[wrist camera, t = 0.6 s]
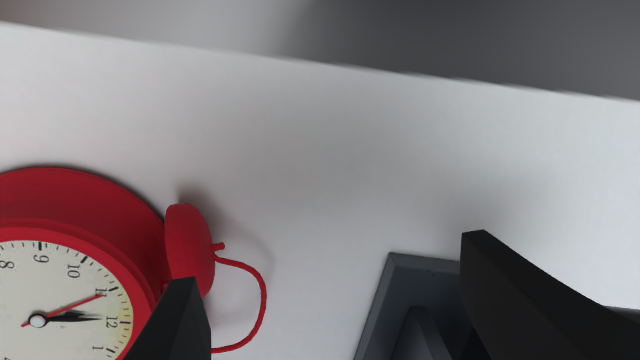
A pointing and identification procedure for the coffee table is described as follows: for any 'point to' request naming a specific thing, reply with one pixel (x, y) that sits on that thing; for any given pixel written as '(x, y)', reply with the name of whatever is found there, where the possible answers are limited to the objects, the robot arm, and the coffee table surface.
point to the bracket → (419, 314)
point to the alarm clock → (92, 264)
